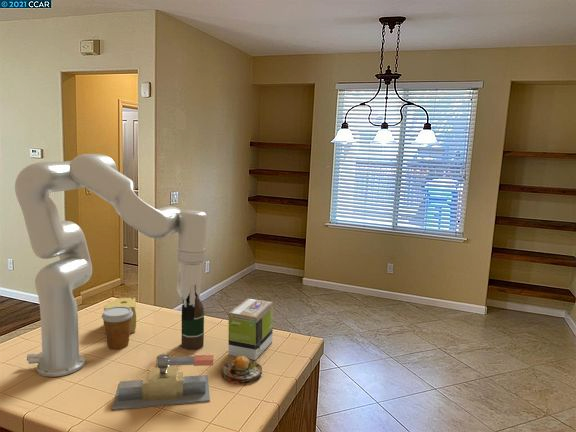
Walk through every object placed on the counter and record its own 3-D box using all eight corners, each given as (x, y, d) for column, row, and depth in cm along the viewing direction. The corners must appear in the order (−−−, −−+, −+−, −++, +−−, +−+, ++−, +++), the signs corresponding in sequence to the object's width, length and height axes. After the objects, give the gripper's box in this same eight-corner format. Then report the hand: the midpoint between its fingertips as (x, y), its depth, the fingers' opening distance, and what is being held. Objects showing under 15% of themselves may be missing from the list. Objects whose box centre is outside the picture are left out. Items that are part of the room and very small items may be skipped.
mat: (112, 410, 108) (112, 408, 107) (120, 382, 120) (120, 381, 120) (209, 401, 113) (209, 400, 113) (207, 376, 126) (207, 374, 125)
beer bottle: (198, 351, 140) (199, 280, 137) (176, 348, 142) (177, 278, 138) (208, 341, 148) (209, 274, 144) (186, 338, 149) (187, 271, 146)
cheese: (106, 324, 159) (105, 298, 157) (137, 322, 162) (137, 296, 160) (103, 336, 149) (102, 308, 147) (136, 333, 152) (136, 306, 151)
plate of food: (268, 370, 131) (269, 346, 130) (251, 389, 120) (251, 364, 119) (233, 361, 135) (234, 339, 134) (213, 379, 125) (214, 354, 123)
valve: (117, 405, 110) (117, 374, 108) (121, 392, 115) (120, 363, 114) (205, 397, 115) (206, 368, 113) (204, 385, 120) (205, 357, 119)
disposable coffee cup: (123, 336, 149) (123, 303, 147) (139, 345, 143) (138, 311, 141) (96, 345, 142) (96, 310, 140) (111, 355, 136) (111, 318, 134)
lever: (156, 368, 112) (156, 360, 112) (158, 362, 115) (158, 354, 115) (212, 367, 114) (213, 358, 114) (213, 361, 117) (213, 353, 117)
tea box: (246, 337, 153) (247, 297, 151) (273, 342, 150) (274, 301, 148) (227, 355, 139) (228, 311, 137) (255, 361, 136) (257, 316, 134)
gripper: (173, 249, 123) (170, 310, 126) (181, 263, 110) (178, 331, 112) (199, 248, 126) (195, 308, 129) (210, 262, 113) (206, 329, 115)
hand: (187, 319), depth 121 cm, fingers closed
